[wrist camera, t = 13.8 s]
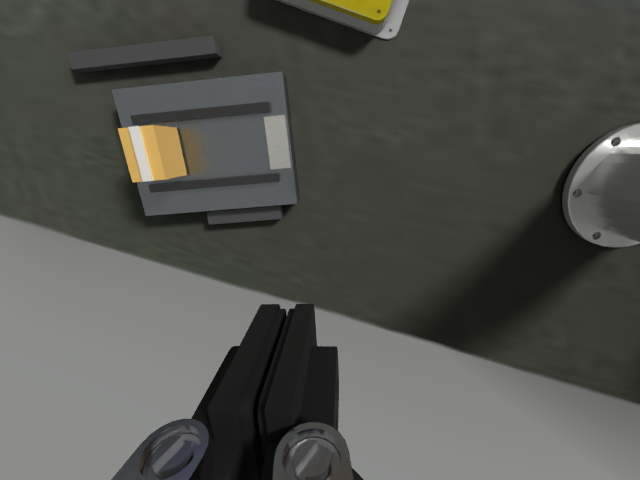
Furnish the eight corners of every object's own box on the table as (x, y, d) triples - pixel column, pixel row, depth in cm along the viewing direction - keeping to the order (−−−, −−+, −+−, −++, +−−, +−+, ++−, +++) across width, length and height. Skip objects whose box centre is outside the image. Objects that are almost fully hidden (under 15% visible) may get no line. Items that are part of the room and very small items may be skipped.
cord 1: (219, 40, 28) (213, 35, 27) (221, 57, 29) (216, 53, 27) (78, 56, 29) (67, 52, 28) (83, 72, 29) (72, 69, 28)
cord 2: (281, 203, 33) (279, 206, 32) (283, 215, 33) (281, 218, 32) (211, 209, 33) (206, 212, 32) (213, 221, 34) (208, 224, 32)
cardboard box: (176, 127, 28) (150, 124, 24) (187, 174, 29) (164, 179, 25) (146, 130, 28) (115, 128, 24) (157, 177, 30) (130, 182, 25)
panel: (286, 77, 29) (281, 69, 26) (299, 199, 33) (296, 204, 30) (128, 94, 30) (106, 88, 27) (158, 210, 34) (142, 217, 31)
